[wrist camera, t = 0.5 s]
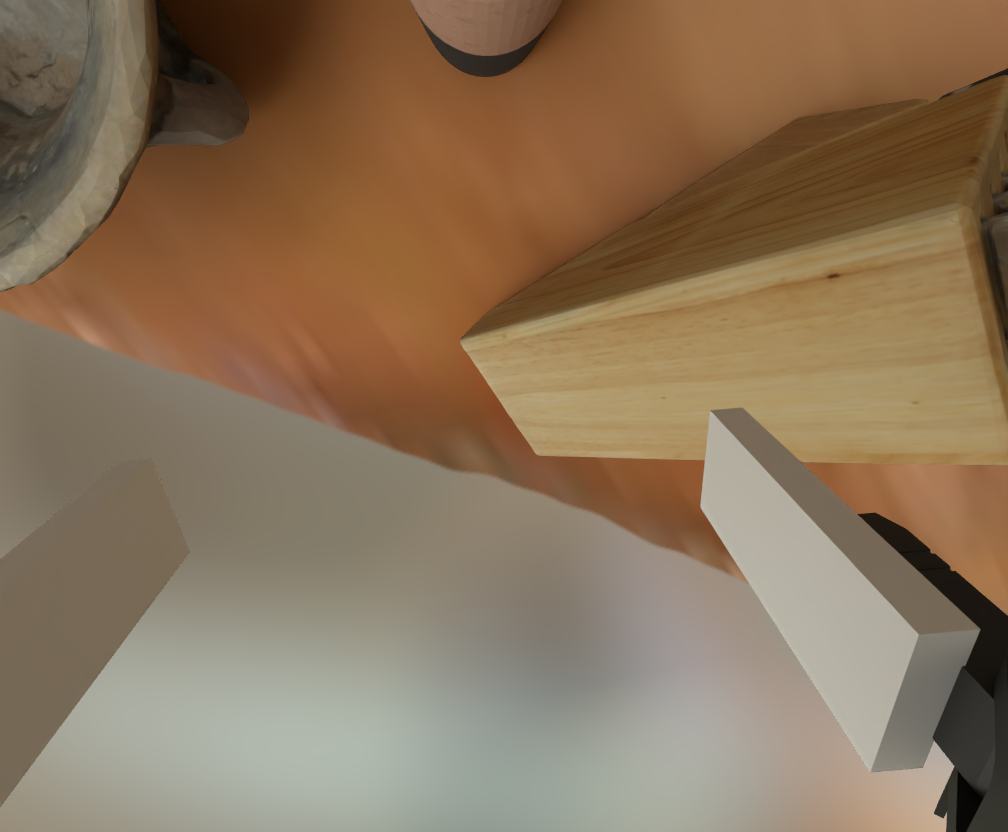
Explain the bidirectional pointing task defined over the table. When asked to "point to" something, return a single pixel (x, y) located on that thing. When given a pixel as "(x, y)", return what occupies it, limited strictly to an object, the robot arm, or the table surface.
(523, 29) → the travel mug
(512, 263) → the table surface
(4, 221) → the bowl
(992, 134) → the knife block
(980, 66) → the table surface
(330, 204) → the table surface
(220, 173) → the table surface
